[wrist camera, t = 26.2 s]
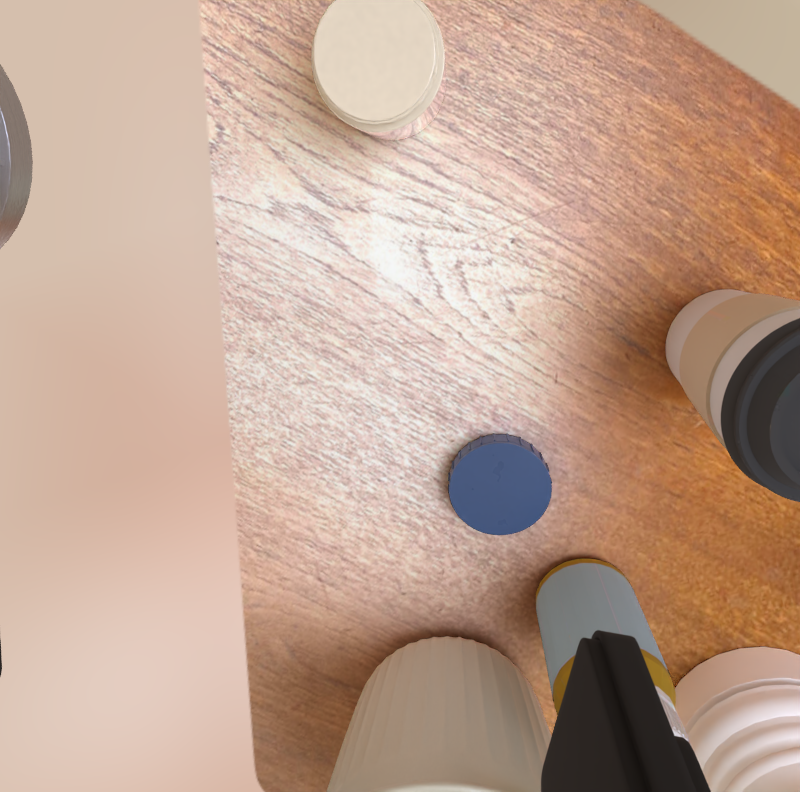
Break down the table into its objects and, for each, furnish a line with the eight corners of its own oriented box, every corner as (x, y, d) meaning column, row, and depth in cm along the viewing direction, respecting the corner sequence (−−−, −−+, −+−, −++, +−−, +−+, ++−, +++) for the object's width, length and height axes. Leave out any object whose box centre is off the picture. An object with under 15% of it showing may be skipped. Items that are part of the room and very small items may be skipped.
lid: (530, 534, 48) (533, 547, 46) (436, 509, 48) (436, 521, 46) (562, 448, 45) (566, 458, 44) (464, 421, 45) (464, 430, 44)
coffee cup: (642, 411, 44) (732, 522, 30) (651, 274, 41) (755, 326, 27) (784, 408, 43) (946, 521, 29) (803, 268, 41) (992, 318, 26)
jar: (332, 132, 40) (298, 119, 31) (344, 13, 38) (311, -37, 29) (437, 147, 40) (432, 139, 31) (454, 29, 38) (455, -16, 29)
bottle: (634, 554, 48) (711, 715, 33) (627, 636, 50) (696, 819, 36) (536, 552, 48) (570, 710, 34) (532, 633, 50) (563, 813, 36)
